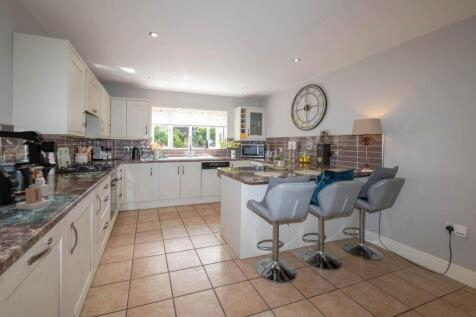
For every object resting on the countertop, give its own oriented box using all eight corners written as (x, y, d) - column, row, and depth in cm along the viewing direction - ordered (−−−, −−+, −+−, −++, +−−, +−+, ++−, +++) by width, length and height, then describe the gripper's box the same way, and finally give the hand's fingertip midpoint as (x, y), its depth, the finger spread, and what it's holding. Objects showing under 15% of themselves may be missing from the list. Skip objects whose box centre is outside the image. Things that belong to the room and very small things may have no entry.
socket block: (16, 208, 118) (16, 203, 118) (37, 203, 128) (36, 198, 128) (31, 209, 116) (30, 205, 116) (51, 204, 126) (50, 200, 126)
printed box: (28, 197, 141) (27, 178, 140) (41, 194, 148) (40, 176, 147) (36, 198, 139) (35, 179, 138) (49, 195, 146) (48, 177, 145)
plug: (26, 207, 120) (25, 188, 120) (35, 205, 125) (34, 187, 124) (33, 208, 119) (32, 189, 119) (42, 205, 124) (41, 187, 123)
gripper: (61, 152, 138) (63, 177, 140) (28, 152, 136) (29, 177, 137) (49, 153, 127) (50, 180, 128) (12, 153, 125) (14, 180, 126)
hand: (36, 179), depth 130 cm, fingers open, 9 cm apart
